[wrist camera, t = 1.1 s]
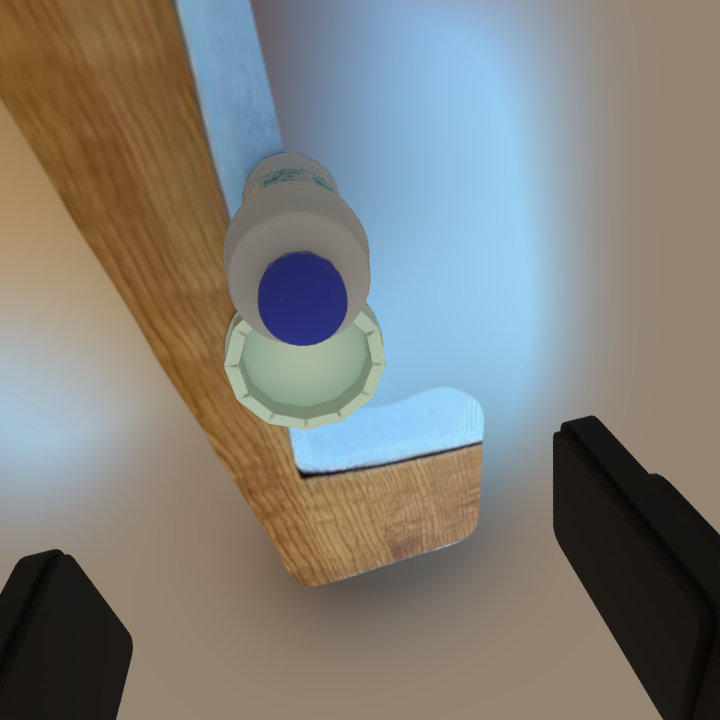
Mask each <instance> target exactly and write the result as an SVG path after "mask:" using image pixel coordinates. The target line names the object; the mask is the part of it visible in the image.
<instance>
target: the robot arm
mask: <svg viewBox="0 0 720 720" xmlns="http://www.w3.org/2000/svg"><path fill="white" fill-rule="evenodd" d="M553 527H554V533H555V536H556V539H557V541H558V543H559V545H560V547H561V549H562V550H563V552H564V554H565V556H566V557H567V559H568V561H569V562H570V564H571V566H572V567H573V569H574V571H575V572H576V574H577V576H578V577H579V579H580V581H581V582H582V584H583V586H584V587H585V589H586V591H587V593H588V594H589V596H590V598H591V599H592V601H593V603H594V604H595V606H596V608H597V609H598V611H599V613H600V614H601V616H602V618H603V619H604V621H605V623H606V624H607V626H608V628H609V630H610V631H611V633H612V635H613V636H614V638H615V640H616V641H617V643H618V645H619V646H620V648H621V650H622V651H623V653H624V655H625V657H626V658H627V660H628V661H629V663H630V665H631V667H632V668H633V670H634V672H635V673H636V675H637V677H638V678H639V680H640V682H641V684H642V685H643V687H644V689H645V690H646V692H647V694H648V695H649V697H650V699H651V700H652V702H653V703H654V705H655V707H656V709H657V710H658V712H659V714H660V715H661V717H662V718H663V720H720V535H719V534H718V532H717V531H716V530H715V529H714V528H713V527H712V526H711V525H710V524H709V523H708V522H707V521H706V520H705V519H704V518H703V517H702V516H701V515H700V514H699V513H698V512H697V510H696V509H695V508H694V507H693V506H692V505H691V504H690V503H689V502H688V501H687V500H686V499H685V498H684V497H683V496H682V495H681V494H680V493H679V492H678V490H677V489H676V488H675V487H674V486H673V485H672V484H671V483H670V482H669V481H667V480H666V479H665V478H664V477H663V476H661V475H658V474H649V473H648V472H647V471H646V470H645V469H644V468H643V467H642V466H641V465H640V464H639V463H638V462H637V461H636V459H635V458H634V457H633V456H632V455H631V454H630V453H629V452H628V451H627V449H626V448H625V447H624V446H623V445H622V444H621V443H620V442H619V441H618V440H617V439H616V438H615V436H614V435H612V433H611V432H610V431H609V430H608V429H607V428H606V427H605V426H604V424H603V423H602V422H601V421H600V420H598V418H596V417H595V416H592V415H591V416H587V417H584V418H579V419H575V420H571V421H567V422H564V423H562V425H561V430H560V431H559V432H555V433H554V435H553ZM132 652H133V643H132V638H131V635H130V633H129V632H128V631H127V629H126V628H125V627H124V625H123V624H122V623H121V621H120V620H119V618H118V617H117V616H116V614H115V613H114V612H113V610H112V609H111V608H110V606H109V605H108V604H107V602H106V601H105V600H104V598H103V597H102V596H101V594H100V593H99V591H98V590H97V589H96V587H95V586H94V585H93V583H92V582H91V581H90V579H89V578H88V577H87V575H86V574H85V573H84V571H83V570H82V568H81V567H80V566H79V564H78V563H77V562H76V560H75V559H74V558H73V557H72V556H71V555H69V554H68V555H65V554H64V553H63V552H62V551H61V550H58V549H54V550H49V551H45V552H42V553H37V554H33V555H29V556H25V557H23V558H22V559H20V560H19V561H18V563H17V564H16V565H15V567H14V569H13V571H12V573H11V575H10V577H9V579H8V581H7V583H6V585H5V586H4V588H3V590H2V592H1V594H0V720H116V718H117V713H118V709H119V705H120V701H121V697H122V693H123V689H124V685H125V681H126V677H127V673H128V669H129V665H130V660H131V657H132Z"/></svg>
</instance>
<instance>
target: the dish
mask: <svg viewBox="0 0 720 720" xmlns="http://www.w3.org/2000/svg"><path fill="white" fill-rule="evenodd" d="M385 364H386V362H385V357H384V352H383V339H382V333H381V329H380V326H379V324H378V321H377V319H376V317H375V315H374V313H373V312H372V310H371V309H370V307H369V306H368V304H367V303H366V302H365V304H364V306H363V308H362V310H361V312H360V313H359V315H358V316H357V317H356V318H355V320H354V321H353V322H352V323H351V324H350V325H349V326H348V327H347V328H346V329H344V330H343V331H342V332H340V333H339V334H337V335H335V336H334V337H332V338H330V339H327V340H325V341H323V342H321V343H318V344H316V345H309V346H296V345H290V344H285V343H281V342H277V341H274V340H272V339H269V338H266V337H265V336H263V335H261V334H259V333H258V332H257V331H255V330H254V329H253V328H252V327H251V326H249V325H248V324H247V323H246V322H245V321H244V320H243V318H242V317H241V316H240V314H239V313H238V311H237V312H236V313H235V314H234V316H233V318H232V320H231V322H230V325H229V328H228V331H227V335H226V342H225V364H224V368H225V370H226V373H227V375H228V378H229V380H230V383H231V385H232V388H233V390H234V393H235V396H236V398H237V400H238V401H239V402H240V403H242V404H243V405H244V406H246V407H247V408H248V409H250V410H251V411H252V412H254V413H255V414H256V415H257V416H259V417H260V418H261V419H263V420H264V421H265V422H268V423H270V424H275V425H281V426H286V427H292V428H297V429H303V430H305V429H306V430H308V429H312V428H316V427H320V426H324V425H328V424H332V423H336V422H340V421H343V420H345V419H346V418H347V417H349V416H350V415H351V414H352V413H354V412H355V411H356V410H357V409H359V408H360V407H361V406H362V405H363V404H365V403H366V402H367V401H368V400H370V399H371V398H372V397H373V395H374V392H375V390H376V387H377V385H378V382H379V380H380V378H381V375H382V373H383V370H384V368H385Z"/></svg>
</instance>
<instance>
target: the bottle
mask: <svg viewBox="0 0 720 720" xmlns="http://www.w3.org/2000/svg"><path fill="white" fill-rule="evenodd" d="M223 258H224V266H225V271H226V274H227V283H228V288H229V292H230V296H231V300H232V302H233V304H234V306H235V308H236V310H237V311H238V313H239V314H240V316H241V317H242V318H243V320H244V321H245V322H246V323H247V324H248V325H249V326H251V327H252V328H253V329H254V330H255V331H257V332H258V333H259V334H261V335H263V336H265V337H266V338H269V339H272V340H274V341H277V342H281V343H285V344H290V345H296V346H309V345H316V344H318V343H321V342H323V341H325V340H327V339H330V338H332V337H334V336H335V335H337V334H339V333H340V332H342V331H343V330H344V329H346V328H347V327H348V326H349V325H350V324H351V323H352V322H353V321H354V320H355V318H356V317H357V316H358V315H359V313H360V312H361V310H362V308H363V306H364V304H365V302H366V299H367V296H368V293H369V287H370V266H369V246H368V240H367V236H366V234H365V231H364V228H363V226H362V224H361V223H360V221H359V219H358V217H357V216H356V215H355V214H354V212H353V211H352V210H351V208H350V207H349V206H348V205H347V204H346V202H345V201H344V200H343V199H341V198H340V196H339V191H338V189H337V186H336V184H335V182H334V180H333V178H332V176H331V175H330V173H329V172H328V171H327V170H326V169H325V168H324V167H323V166H322V165H321V164H320V163H318V162H317V161H316V160H314V159H312V158H310V157H308V156H306V155H304V154H301V153H297V152H286V153H279V154H276V155H273V156H270V157H268V158H266V159H264V160H262V161H261V162H260V163H258V165H257V166H256V167H255V168H254V169H253V171H252V172H251V174H250V175H249V177H248V179H247V181H246V183H245V186H244V190H243V194H242V206H241V207H240V209H239V210H238V211H237V213H236V215H235V217H234V218H233V220H232V222H231V224H230V226H229V228H228V231H227V234H226V237H225V241H224V249H223Z"/></svg>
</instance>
